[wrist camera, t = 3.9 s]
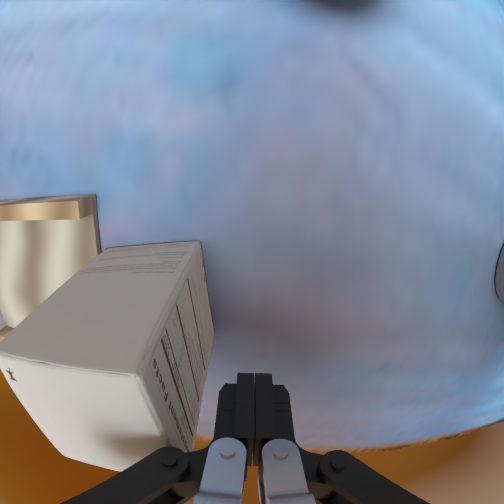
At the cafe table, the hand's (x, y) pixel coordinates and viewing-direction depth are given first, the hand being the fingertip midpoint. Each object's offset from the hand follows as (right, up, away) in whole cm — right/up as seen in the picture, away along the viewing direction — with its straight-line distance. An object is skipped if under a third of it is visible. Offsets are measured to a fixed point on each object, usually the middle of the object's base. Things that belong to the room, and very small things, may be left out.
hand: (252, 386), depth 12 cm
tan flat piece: (-18, +4, +8) cm, 20 cm away
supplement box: (-7, +3, +8) cm, 11 cm away
